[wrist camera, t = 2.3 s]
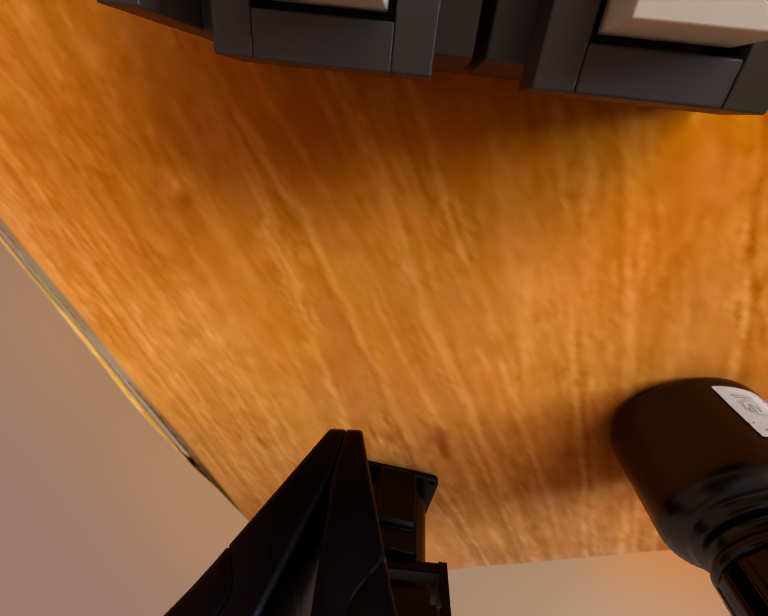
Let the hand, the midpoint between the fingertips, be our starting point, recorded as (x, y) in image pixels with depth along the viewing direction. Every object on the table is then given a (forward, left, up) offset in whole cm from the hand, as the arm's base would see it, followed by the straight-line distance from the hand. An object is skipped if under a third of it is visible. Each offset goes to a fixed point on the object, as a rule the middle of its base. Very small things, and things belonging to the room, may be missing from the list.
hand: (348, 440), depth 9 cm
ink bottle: (-7, -21, -13) cm, 26 cm away
